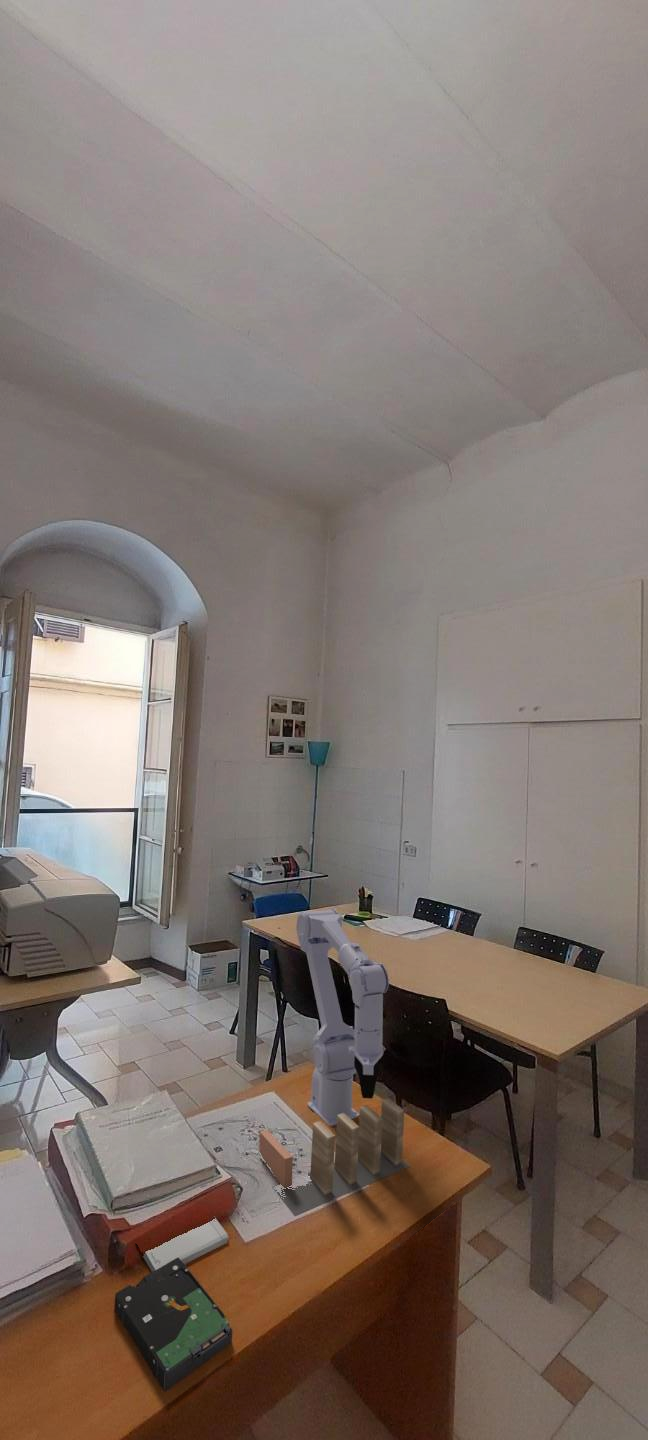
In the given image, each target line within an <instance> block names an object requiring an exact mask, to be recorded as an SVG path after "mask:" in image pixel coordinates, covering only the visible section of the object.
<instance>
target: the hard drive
mask: <svg viewBox="0 0 648 1440" xmlns="http://www.w3.org/2000/svg"><path fill="white" fill-rule="evenodd" d="M229 1239H230V1237H229V1235H228V1233H227V1231H226V1230H225V1228H224V1227H223V1226H222V1225H221V1224H220V1222H219V1221H218V1219H217V1218H216V1217H215V1219H213V1220H212V1221H210V1222H208V1223H206V1224H204V1225H202V1226H200V1227H197V1228H195V1229H192V1230H190V1231H188V1232H187V1233H184V1234H182V1235H179V1236H177V1237H175V1238H173V1239H171V1240H170V1241H168V1242H165V1243H163V1244H162V1245H160V1246H158V1247H155V1248H154V1249H151V1250H148V1251H146V1252H145V1254H144V1256H142V1258H143V1259H144V1261H145V1263H146V1265H147V1267H148V1268H149V1271H151V1272H153V1271H155V1270H157V1269H159V1268H161V1267H162V1266H164V1265H166V1264H167V1263H169V1262H171V1261H172V1260H174V1259H176V1258H178V1257H179V1259H180V1260H181V1261H182V1262H183V1263H184V1264H185V1265H187V1264H188V1263H190V1262H192V1261H194V1260H196V1259H199V1258H200V1257H201V1256H203V1255H205V1254H208V1253H209V1252H211V1251H213V1250H215V1249H217V1248H219V1247H221V1246H223V1245H225V1244H228V1243H229ZM151 1272H150V1273H151Z"/></svg>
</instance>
